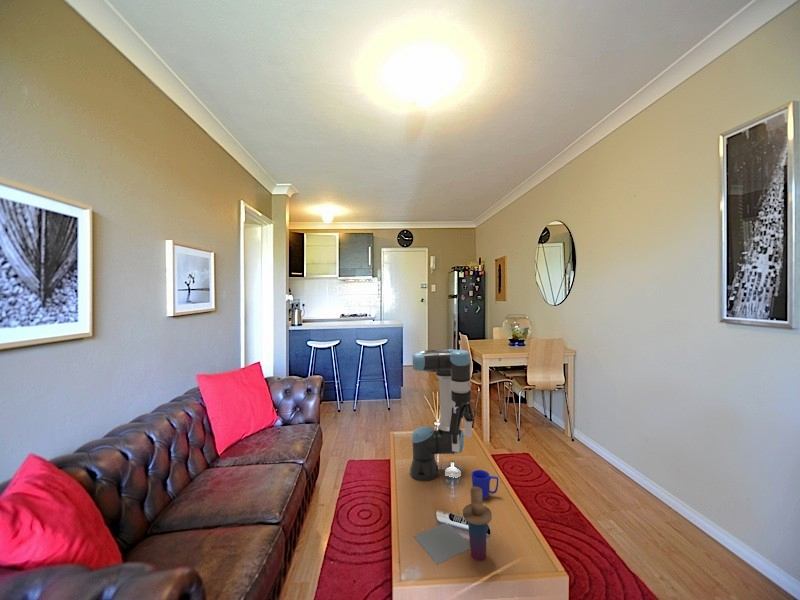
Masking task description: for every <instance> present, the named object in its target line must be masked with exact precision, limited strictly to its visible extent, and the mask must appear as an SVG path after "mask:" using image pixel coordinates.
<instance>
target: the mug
mask: <svg viewBox="0 0 800 600" xmlns="http://www.w3.org/2000/svg"><path fill="white" fill-rule="evenodd" d="M491 479H493V480H495V479H496V487H495V489H494V490H493V491H491V490H490V485H491ZM471 483H472V487H480V488H481V489H482V498H483V500H484V499H487V498H488V497H489V494H492V495H493V494H496V493H497V491H498V489H499V488H498V487H499V477H498V476H496V475H495V476H494V475H490V473H489V472H488V471H486V470H483V469H475V470H473V471H472V472H471Z"/></svg>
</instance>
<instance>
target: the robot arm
mask: <svg viewBox="0 0 800 600" xmlns="http://www.w3.org/2000/svg"><path fill="white" fill-rule="evenodd" d="M412 369H413V371H420V372H427V373H435V376H436V377H437V378H438V379H439V410H440V413H439V414H440V424H439V425H438V426H437V429H434V428H435V427H432V426H428V425H427V426H425V425H424V426H421V427H417V428H416V429H414V431H412V438H411V442H412V461H411V465H410V468H409V475H410V476H411V478H413V479H414V480H416V481H422V482H425V481H426V482H427V481H432V480H434V479H436V478H437V477H439V474H440V472H439V471H440V470H439V469H440V468H439V466H438V463H437V461H436V455H455V454H461V453H462V452H463V449H464V446H465V445H464V443H465V440H464V439H465V438H469V439H472V438H473V437H472V436H473V435H472V434H473V433H472V430H473V429H472V422H474V413H473V409H472V408H473V407H472V405H471V401H472V392H471V386H472V382H471V354H470V352H469V350H465V349H449V348H445V349H443V348H442V349H427V350H423V351H419V352H414V353H412ZM463 418H464V421H463V422H464V431H463V429H461V423H462V419H463Z"/></svg>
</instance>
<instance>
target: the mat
mask: <svg viewBox="0 0 800 600" xmlns="http://www.w3.org/2000/svg"><path fill="white" fill-rule="evenodd" d="M412 537H413V538H414V540H415V541H416V542H417V543H418V544H419V545H420V547H421V548H422V549H423V550H424V551H425V553H426V554H427V555H428V556H429V557H430V559H432V561H433V562H434V563H435V564H436V565H439V564H442V563H443V562H445V561H448V560H449V559H452V558H454V557H455V556H458V555H460V554H462V553H464V552H466V551H468V550H471V548H470V542H469V541H467V539H466V538H464V536H462V535H461V534H460V533H459V532H458V531H457V530H456V529H455V528H454V527H453V526H452V525H451V524H449V525H446V524H444V523H442V524H440V525H437V526H435V527H432V528H429V529H427V530H425V531H423V532H421V533H418V534H416V535H413V536H412Z"/></svg>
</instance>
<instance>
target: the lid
mask: <svg viewBox="0 0 800 600" xmlns="http://www.w3.org/2000/svg"><path fill="white" fill-rule="evenodd" d="M483 501H484V499H483V498H482V489H481V488H480V487H473V486H472V487H470V504H467V505H465V506H464V507H463V509H462V517H463V519H464V520H465V521H466V522H467V523H468V522H469V523H471V524H475V525H485V524H487V525H488V524H489V523H490V522H492V519H493V512H492V510H491V509H490V508H489V507H487V506H485V505H484V504H483Z"/></svg>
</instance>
